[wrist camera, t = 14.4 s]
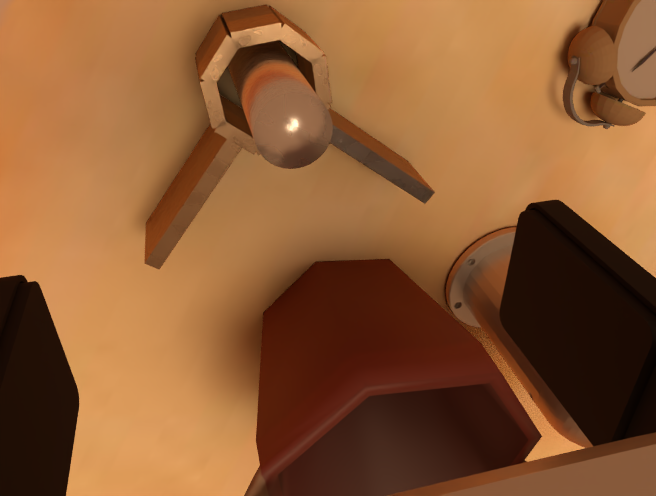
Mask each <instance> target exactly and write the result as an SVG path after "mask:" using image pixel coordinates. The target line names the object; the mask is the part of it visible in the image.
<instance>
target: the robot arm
mask: <svg viewBox="0 0 656 496" xmlns="http://www.w3.org/2000/svg"><path fill="white" fill-rule="evenodd" d="M446 298H447V303H448V305H449V307H450V309H451V311H452V312H453V313H454V315H455V316H456V317H457V318H458V319H459V320H460V321H461V322H463V323H465V324H467V325H469V326H473V327H478V328H482V329H483V330H484V332H485V333H486V335H487V336H488V337H489V339H490V340H491V342H492V343H493V344H494V346H495V347H496V349H497V350H498V352H499V353H500V354H501V356H502V357H503V359H504V360H505V361H506V363H507V364H508V366H509V367H510V369H511V370H512V371H513V373H514V374H515V376H516V377H517V378H518V380H519V381H520V383H521V384H522V385H523V387H524V388H525V390H526V391H527V393H528V394H529V395H530V397H531V398H532V400H533V401H534V402H535V404H536V405H537V406H538V408H539V409H540V411H541V412H542V414H543V415H544V416H545V418H546V419H547V421H548V422H549V423H550V424H551V426H552V427H553V428H554V429H555V430H556V431H557V432H558V433H559V434H561V435H562V436H563V437H565V438H566V439H568V440H569V441H571V442H573V443H576V444H578V445H580V446H582V447H585V449H581V450H576V451H572V452H568V453H564V454H559V455H555V456H551V457H546V458H542V459H538V460H534V461H529V462H525V463H521V464H517V465H512V466H508V467H504V468H500V469H496V470H491V471H487V472H483V473H479V474H475V475H471V476H466V477H462V478H458V479H454V480H450V481H446V482H441V483H437V484H433V485H429V486H425V487H421V488H416V489H412V490H408V491H404V492H400V493H396V494H392V495H387V496H656V278H655V277H654V276H652V275H651V274H650V273H649V272H647V271H646V270H645V269H644V268H643V267H641V266H640V265H639V264H638V263H636V262H635V261H634V260H633V259H631V258H630V257H629V256H628V255H627V254H625V253H624V252H623V251H622V250H620V249H619V248H618V247H617V246H616V245H614V244H613V243H612V242H611V241H609V240H608V239H607V238H606V237H604V236H603V235H602V234H601V233H600V232H598V231H597V230H596V229H595V228H593V227H592V226H591V225H590V224H589V223H587V222H586V221H585V220H584V219H582V218H581V217H580V216H579V215H578V214H576V213H575V212H574V211H573V210H571V209H570V208H569V207H568V206H566V205H565V204H564V203H563V202H561V201H559V200H550V201H543V202H536V203H531V204H529V205H528V206H527V208H526V210H525V211H523V212H521V214H520V215H519V218H518V223H517V227H510V228H506V229H502V230H499V231H496V232H494V233H491V234H489V235H487V236H485V237H484V238H482V239H480V240H478V241H477V242H476V243H475V244H473V245H472V246H471V247H469V248H468V249H467V250H466V251H465V252H464V253H463V254H462V255H461V257H460V258H459V259H458V261H457V262H456V263H455V265H454V266H453V268H452V270H451V272H450V274H449V277H448V281H447V284H446ZM78 410H79V394H78V389H77V385H76V383H75V380H74V377H73V375H72V372H71V369H70V366H69V364H68V361H67V358H66V356H65V353H64V350H63V347H62V345H61V342H60V339H59V337H58V334H57V331H56V328H55V326H54V323H53V320H52V318H51V315H50V312H49V309H48V307H47V304H46V301H45V299H44V296H43V293H42V290H41V288H40V286H39V284H38V283H37V282H36V281H33V282H27V280H26V278H25V277H24V276H22V275H17V276H10V277H3V278H0V496H66V491H67V484H68V477H69V471H70V464H71V457H72V450H73V444H74V437H75V430H76V424H77V417H78Z"/></svg>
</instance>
